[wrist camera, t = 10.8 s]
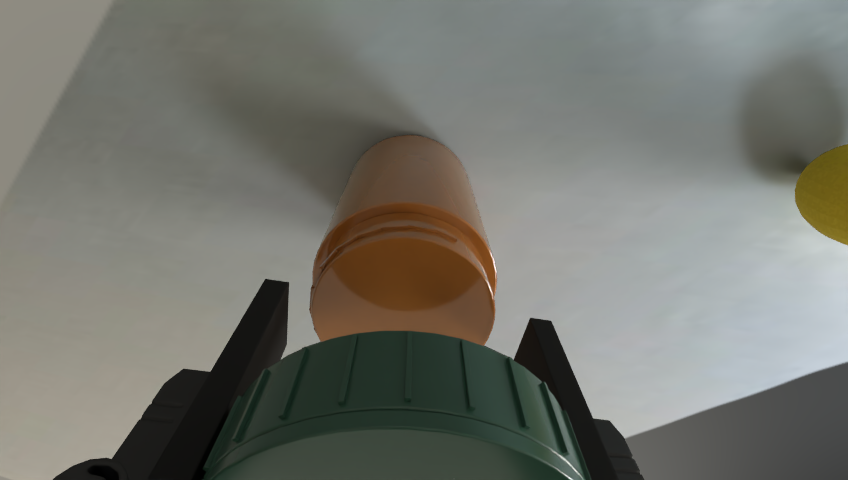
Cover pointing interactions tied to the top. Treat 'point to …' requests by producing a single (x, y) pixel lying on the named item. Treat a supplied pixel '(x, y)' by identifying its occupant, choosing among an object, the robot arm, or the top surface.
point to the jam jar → (405, 248)
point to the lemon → (826, 194)
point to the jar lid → (396, 416)
